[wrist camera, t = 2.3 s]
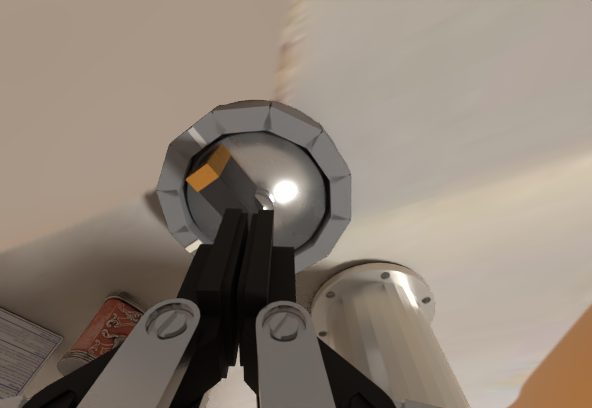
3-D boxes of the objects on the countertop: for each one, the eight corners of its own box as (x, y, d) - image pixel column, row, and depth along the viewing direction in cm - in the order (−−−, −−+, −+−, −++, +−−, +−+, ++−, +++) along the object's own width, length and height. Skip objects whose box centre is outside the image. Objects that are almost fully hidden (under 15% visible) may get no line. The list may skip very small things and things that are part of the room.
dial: (348, 209, 25) (362, 247, 20) (248, 267, 27) (240, 313, 23) (272, 99, 21) (266, 115, 16) (163, 180, 23) (131, 214, 19)
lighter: (179, 332, 33) (138, 436, 25) (156, 343, 34) (109, 448, 25) (123, 285, 30) (53, 385, 21) (99, 299, 31) (22, 401, 22)
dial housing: (333, 261, 29) (338, 286, 26) (179, 251, 28) (166, 276, 25) (362, 106, 22) (372, 115, 20) (162, 87, 22) (142, 94, 19)
